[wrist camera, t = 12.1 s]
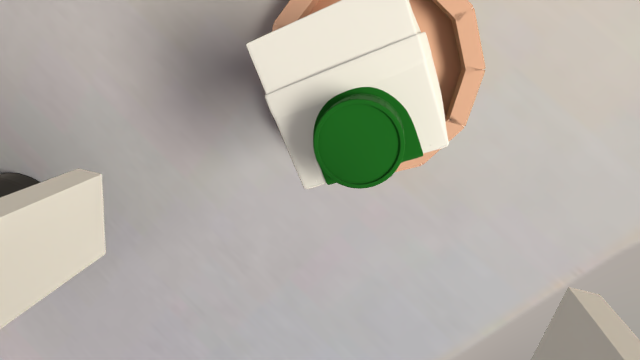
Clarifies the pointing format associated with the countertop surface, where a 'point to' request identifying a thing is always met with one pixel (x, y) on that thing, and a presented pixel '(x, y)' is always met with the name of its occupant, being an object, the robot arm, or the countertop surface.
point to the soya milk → (352, 91)
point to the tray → (447, 52)
